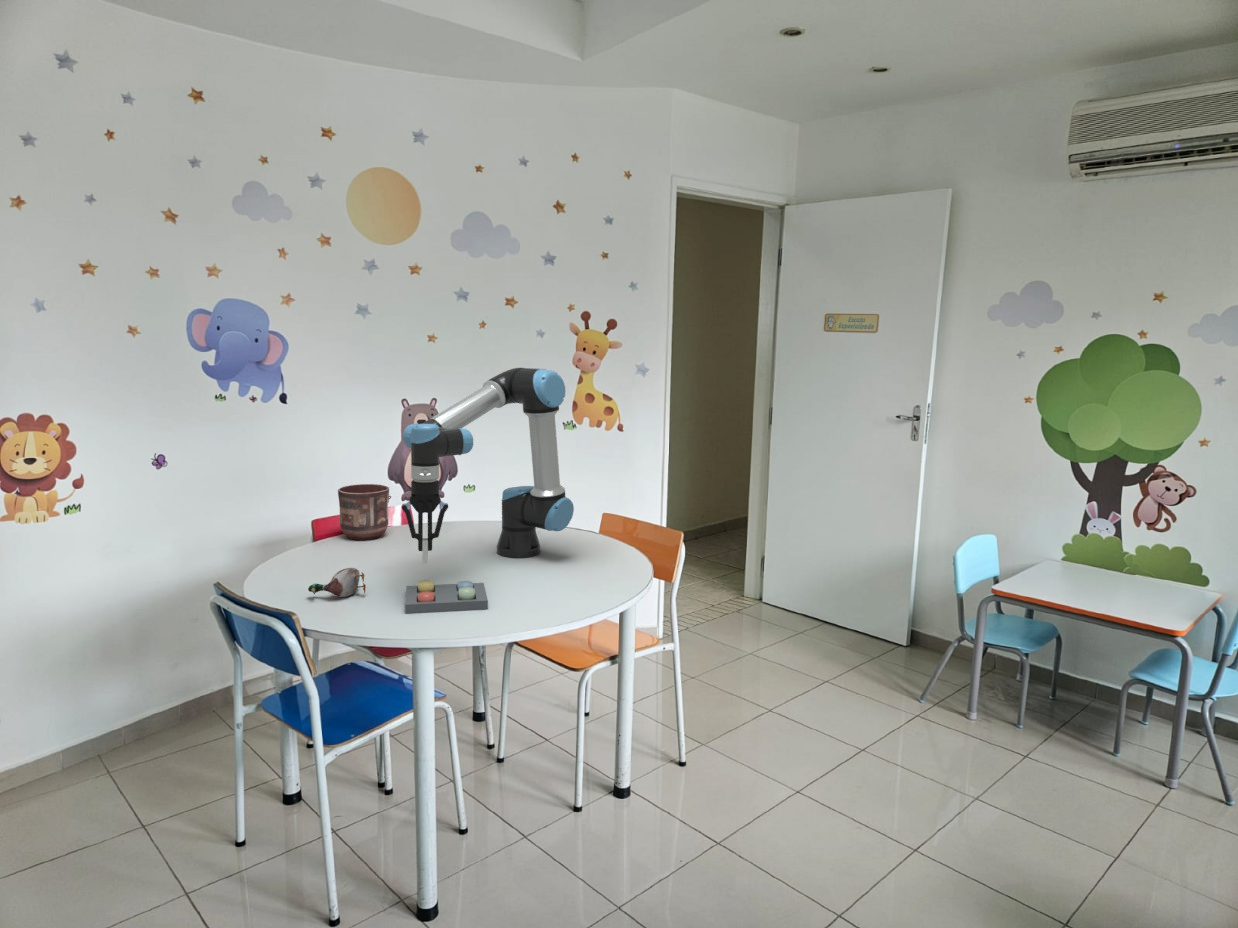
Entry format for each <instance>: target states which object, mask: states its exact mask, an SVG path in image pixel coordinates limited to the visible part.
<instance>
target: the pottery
mask: <svg viewBox="0 0 1238 928" xmlns="http://www.w3.org/2000/svg"><path fill="white" fill-rule="evenodd" d="M337 496H338V504H339V525H340V529H341V531H342V533H343V534H344V536H345V537H347V539H349V540H353V541H372V540H375V539H378V538H380V537H381V536H383V535H384V533H385V532H386V530H387V528H388V526H389V511H388V510H389V496H390V487H389V486H386V485H383V484H374V483H363V484H362V483H361V484H351V485H345V486H342V487H339V488H338V489H337Z"/></svg>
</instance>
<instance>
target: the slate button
mask: <svg viewBox="0 0 1238 928" xmlns="http://www.w3.org/2000/svg"><path fill="white" fill-rule="evenodd" d="M473 583H474V581H470V580H461V581H458V582H457V583H456V584H457V591H459V589H460V588H463V587H472V588H473Z"/></svg>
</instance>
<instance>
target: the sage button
mask: <svg viewBox="0 0 1238 928" xmlns="http://www.w3.org/2000/svg"><path fill="white" fill-rule="evenodd" d="M474 599H475V589H474V588H472V587H463V588H460V589H459V600H474Z"/></svg>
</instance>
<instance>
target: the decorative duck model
mask: <svg viewBox="0 0 1238 928" xmlns="http://www.w3.org/2000/svg"><path fill="white" fill-rule="evenodd" d="M360 577H361V580H362V584H363V585H359V583H360ZM364 582H365V573H364V572H363V571H361V574H360V571H359V570H358V569H357V568H355V567H347V568H343V569H339V570H338V571H337V572H336V573H335V574H333V576H332V578H331V580H330V582H329V583H327V584H321V583H313V584H311V585H309V586H308V587H307V590H308V592H310V593H312V594H313V595H316V593H318V592H324V591H325V592H328V593H331V594H332V595H334V596H335V597H337V598H338V597H339V598H344V597H349V596H351V595H353V594H354V593H355V592H357V589H358V588H362V590H363V591H364V592H363V593H364V594H366V588H367V587H366V584H365V583H364Z"/></svg>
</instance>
